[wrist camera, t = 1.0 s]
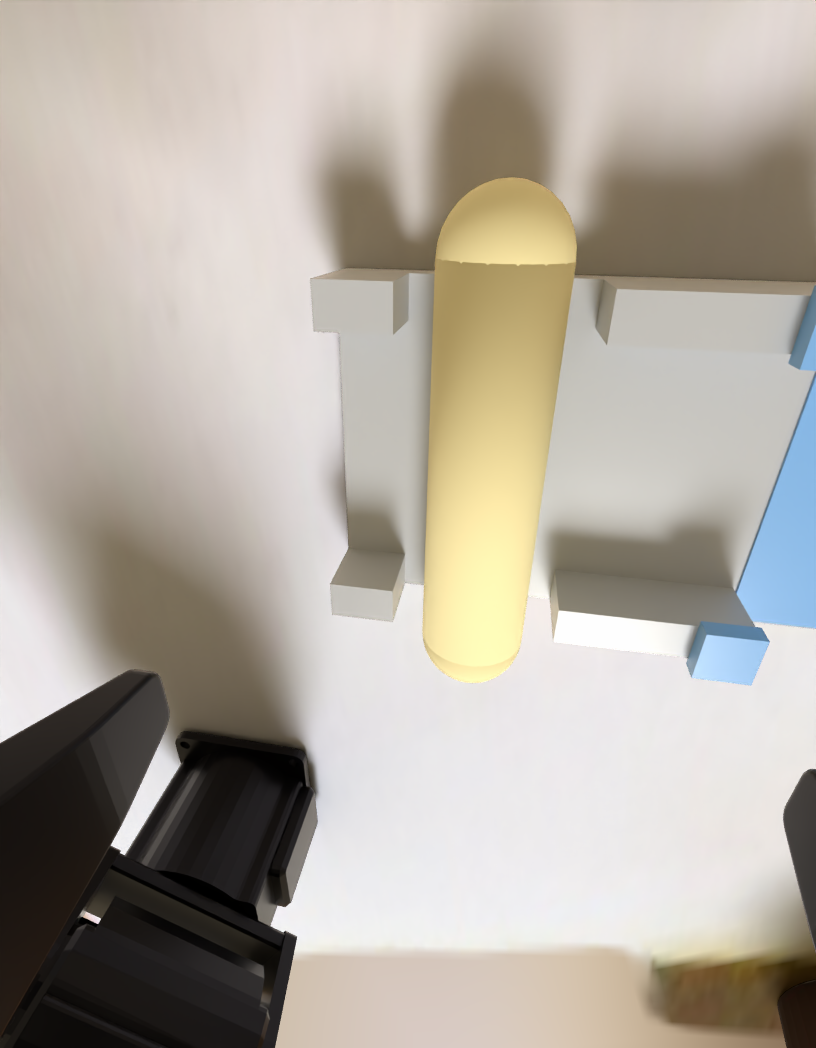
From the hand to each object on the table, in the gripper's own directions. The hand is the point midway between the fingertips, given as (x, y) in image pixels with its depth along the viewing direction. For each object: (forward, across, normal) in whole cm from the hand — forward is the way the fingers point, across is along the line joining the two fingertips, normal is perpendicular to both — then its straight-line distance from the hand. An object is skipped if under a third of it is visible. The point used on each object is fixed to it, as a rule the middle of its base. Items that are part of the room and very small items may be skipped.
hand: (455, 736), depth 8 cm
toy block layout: (+12, -6, 0) cm, 13 cm away
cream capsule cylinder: (+10, 0, 0) cm, 11 cm away
